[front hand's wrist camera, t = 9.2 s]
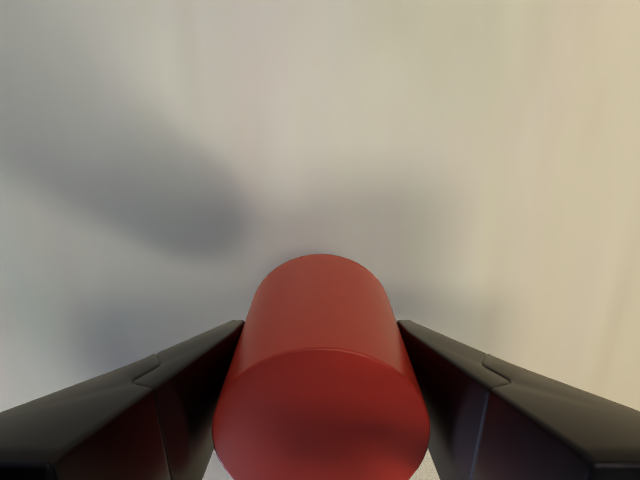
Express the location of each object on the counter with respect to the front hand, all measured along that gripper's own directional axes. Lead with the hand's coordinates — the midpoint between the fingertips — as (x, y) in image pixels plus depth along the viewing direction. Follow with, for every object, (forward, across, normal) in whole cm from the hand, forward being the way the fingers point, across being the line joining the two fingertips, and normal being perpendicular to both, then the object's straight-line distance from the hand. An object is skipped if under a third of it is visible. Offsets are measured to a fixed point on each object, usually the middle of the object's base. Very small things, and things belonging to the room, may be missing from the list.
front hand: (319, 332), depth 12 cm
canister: (+1, 0, 0) cm, 1 cm away
